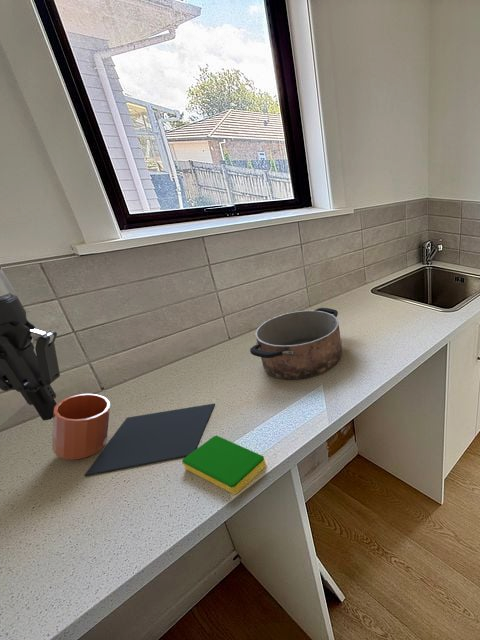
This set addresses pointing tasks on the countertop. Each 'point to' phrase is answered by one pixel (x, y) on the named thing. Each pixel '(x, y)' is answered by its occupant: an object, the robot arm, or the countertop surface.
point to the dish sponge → (224, 464)
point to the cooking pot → (299, 343)
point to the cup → (80, 425)
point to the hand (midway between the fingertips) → (52, 415)
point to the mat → (153, 439)
